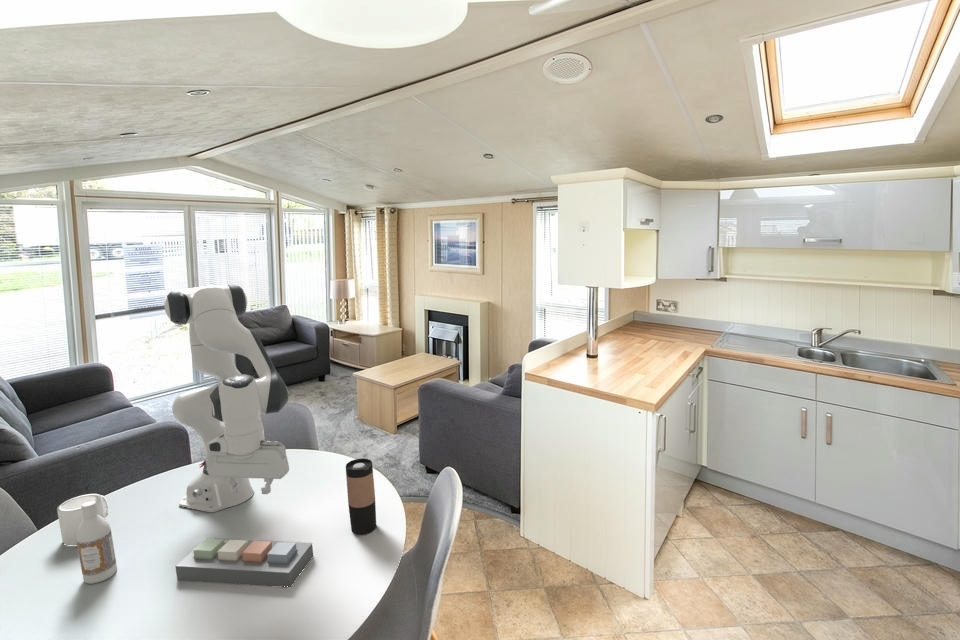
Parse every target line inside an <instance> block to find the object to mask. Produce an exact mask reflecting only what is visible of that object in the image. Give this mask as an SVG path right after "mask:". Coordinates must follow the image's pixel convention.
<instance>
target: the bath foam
mask: <svg viewBox="0 0 960 640" xmlns="http://www.w3.org/2000/svg"><path fill="white" fill-rule="evenodd" d="M81 507H82V513H83V518H84V519H83V521H82V522H81V524H80V526H79V528H78V531H77V535H76V541H77V546H76V547H77V551H78V557H79V562H80V563H79V564H80V569H81V572H82V578H83V582H84V583H85V584H90V585H91V584H97V583H101V582H103V581H106V580H108V579H110V577H112V576H114V574H116V572H117V570H118V566H117V560H116V559H117V558H116V553H115V548H114V547H115V546H114V540H113V534H112V533H113V532H112V528H111V526H110V524H109V522H108V521H107V520H106V518H105V519H104V518H103V517H101V516H100V515H98V511H97V505H96V501H89V502H86V503H84V504H82V506H81Z"/></svg>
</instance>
